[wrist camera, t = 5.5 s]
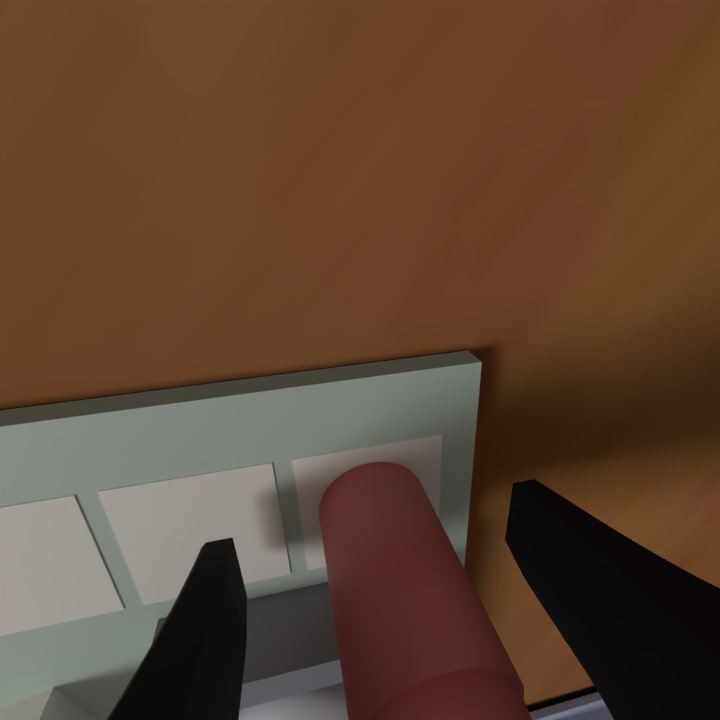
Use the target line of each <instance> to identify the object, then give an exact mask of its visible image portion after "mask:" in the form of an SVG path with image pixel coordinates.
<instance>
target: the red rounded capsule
mask: <svg viewBox="0 0 720 720" xmlns="http://www.w3.org/2000/svg"><path fill="white" fill-rule="evenodd" d="M319 519H320V526H321V533H322V540H323V547H324V554H325V561H326V568H327V575H328V582H329V589H330V596H331V602H332V609H333V616H334V623H335V630H336V637H337V644H338V651H339V658H340V665H341V672H342V679H343V686H344V693H345V700H346V707H347V714H348V720H532V719H531V716H530V713H529V711H528V709H527V706H526V704H525V702H524V699H523V698H524V687H523V684H522V682H521V680H520V678H519V676H518V674H517V672H516V670H515V668H514V666H513V664H512V662H511V660H510V658H509V656H508V654H507V652H506V650H505V648H504V646H503V644H502V642H501V640H500V638H499V636H498V634H497V632H496V630H495V628H494V626H493V624H492V623H491V621H490V619H489V617H488V615H487V613H486V611H485V609H484V607H483V605H482V603H481V601H480V599H479V597H478V595H477V593H476V591H475V589H474V587H473V585H472V583H471V581H470V579H469V577H468V575H467V573H466V571H465V569H464V567H463V565H462V563H461V561H460V560H459V558H458V556H457V554H456V552H455V550H454V548H453V546H452V544H451V542H450V540H449V538H448V536H447V534H446V532H445V530H444V528H443V526H442V524H441V522H440V520H439V518H438V516H437V514H436V512H435V510H434V508H433V506H432V504H431V502H430V500H429V498H428V496H427V495H426V493H425V491H424V489H423V487H422V485H421V483H420V481H419V479H418V478H417V476H416V475H415V474H414V473H413V472H412V471H410V470H409V469H407V468H406V467H404V466H401V465H399V464H395V463H391V462H372V463H367V464H362V465H359V466H357V467H354V468H352V469H350V470H348V471H346V472H345V473H343V474H342V475H340V476H339V477H338V478H336V479H335V480H334V481H333V482H332V483H331V484H330V486H329V487H328V488H327V490H326V491H325V493H324V495H323V497H322V499H321V502H320V506H319Z"/></svg>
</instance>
